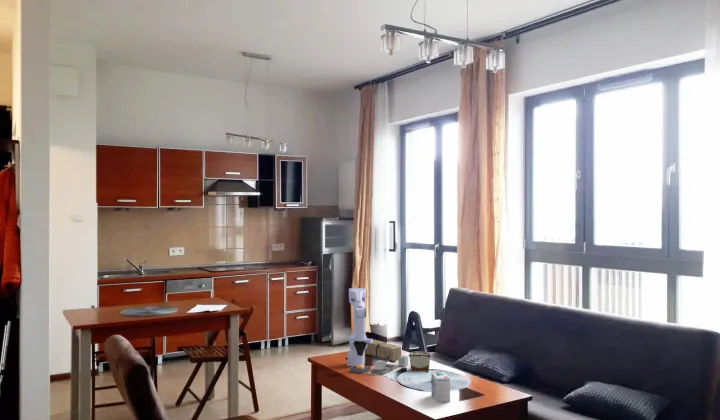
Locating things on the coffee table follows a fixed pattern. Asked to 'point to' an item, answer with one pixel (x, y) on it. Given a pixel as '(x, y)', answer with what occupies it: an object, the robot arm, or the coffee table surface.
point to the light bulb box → (440, 387)
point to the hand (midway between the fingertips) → (360, 355)
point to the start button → (360, 366)
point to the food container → (419, 360)
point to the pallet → (388, 370)
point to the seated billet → (380, 365)
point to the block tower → (383, 350)
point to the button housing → (362, 371)
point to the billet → (403, 361)
